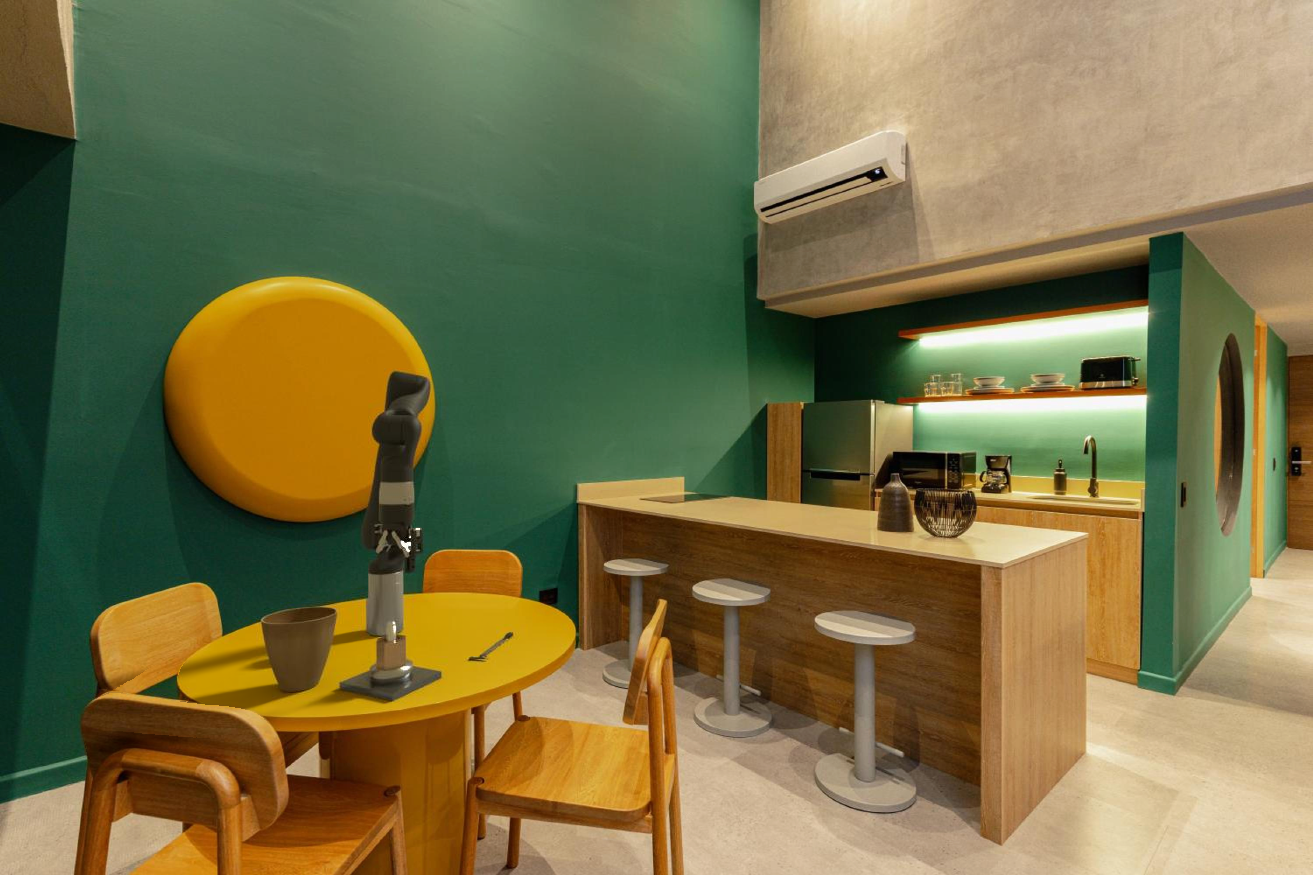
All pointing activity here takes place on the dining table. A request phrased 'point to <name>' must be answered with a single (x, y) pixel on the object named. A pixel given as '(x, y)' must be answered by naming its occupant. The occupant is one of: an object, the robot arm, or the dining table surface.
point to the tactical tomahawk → (491, 648)
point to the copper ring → (391, 653)
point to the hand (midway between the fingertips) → (396, 570)
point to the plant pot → (299, 645)
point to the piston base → (390, 688)
